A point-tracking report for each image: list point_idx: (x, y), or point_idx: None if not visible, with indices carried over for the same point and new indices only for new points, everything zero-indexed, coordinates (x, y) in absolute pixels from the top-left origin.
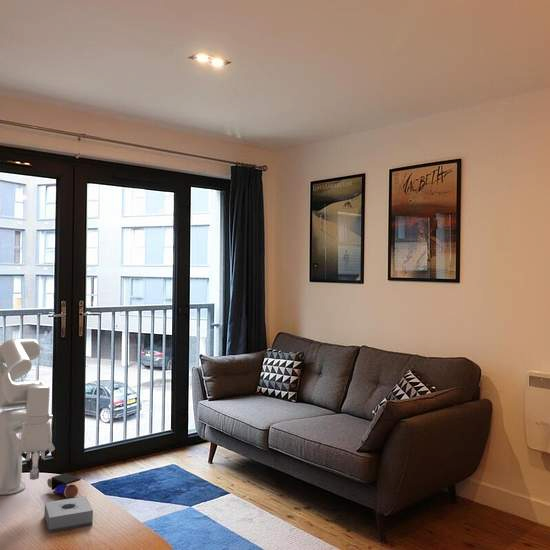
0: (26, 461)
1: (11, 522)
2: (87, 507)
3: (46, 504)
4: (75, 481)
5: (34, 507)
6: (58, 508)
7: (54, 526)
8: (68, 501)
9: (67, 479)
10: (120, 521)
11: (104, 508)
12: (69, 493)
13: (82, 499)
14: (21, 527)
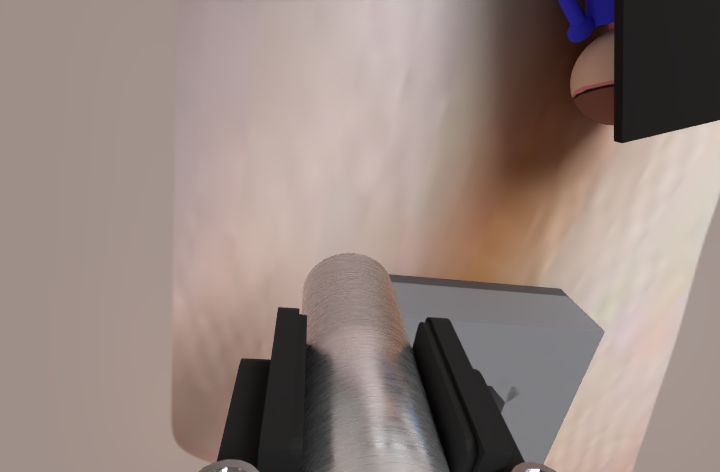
0: (222, 458)
1: (209, 262)
2: (531, 453)
3: None
4: (698, 121)
5: (358, 116)
6: None
7: None
8: (496, 358)
9: (681, 45)
10: (597, 440)
11: (632, 313)
12: (594, 119)
13: (566, 364)
14: (249, 336)
